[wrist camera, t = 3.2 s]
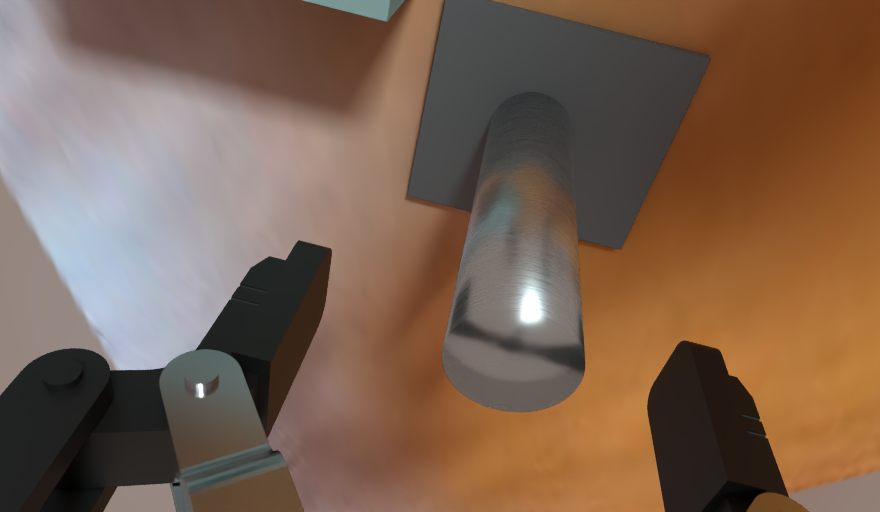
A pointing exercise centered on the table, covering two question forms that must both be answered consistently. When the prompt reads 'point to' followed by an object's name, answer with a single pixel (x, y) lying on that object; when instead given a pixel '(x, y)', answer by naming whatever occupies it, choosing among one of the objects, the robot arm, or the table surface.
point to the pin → (520, 266)
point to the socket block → (364, 7)
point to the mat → (570, 83)
